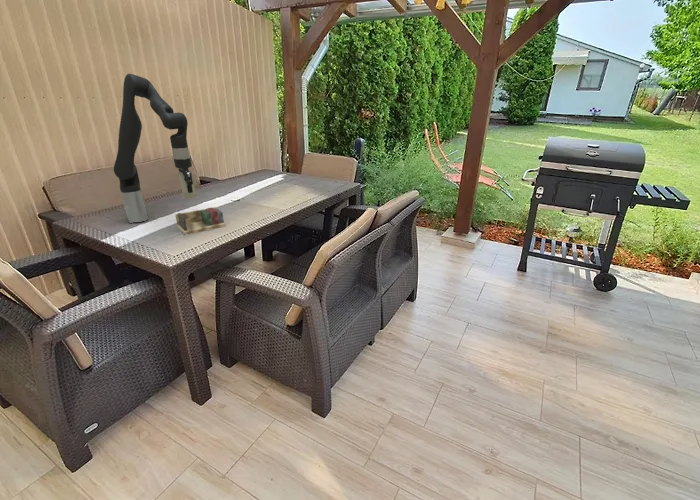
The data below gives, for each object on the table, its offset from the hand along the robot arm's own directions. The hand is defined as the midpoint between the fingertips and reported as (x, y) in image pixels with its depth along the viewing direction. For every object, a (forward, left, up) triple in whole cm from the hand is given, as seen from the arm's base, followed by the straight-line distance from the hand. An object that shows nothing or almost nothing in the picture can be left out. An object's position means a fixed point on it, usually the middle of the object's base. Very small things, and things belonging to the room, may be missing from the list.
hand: (188, 190), depth 175 cm
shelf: (+3, +1, -20) cm, 21 cm away
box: (0, 0, -4) cm, 4 cm away
